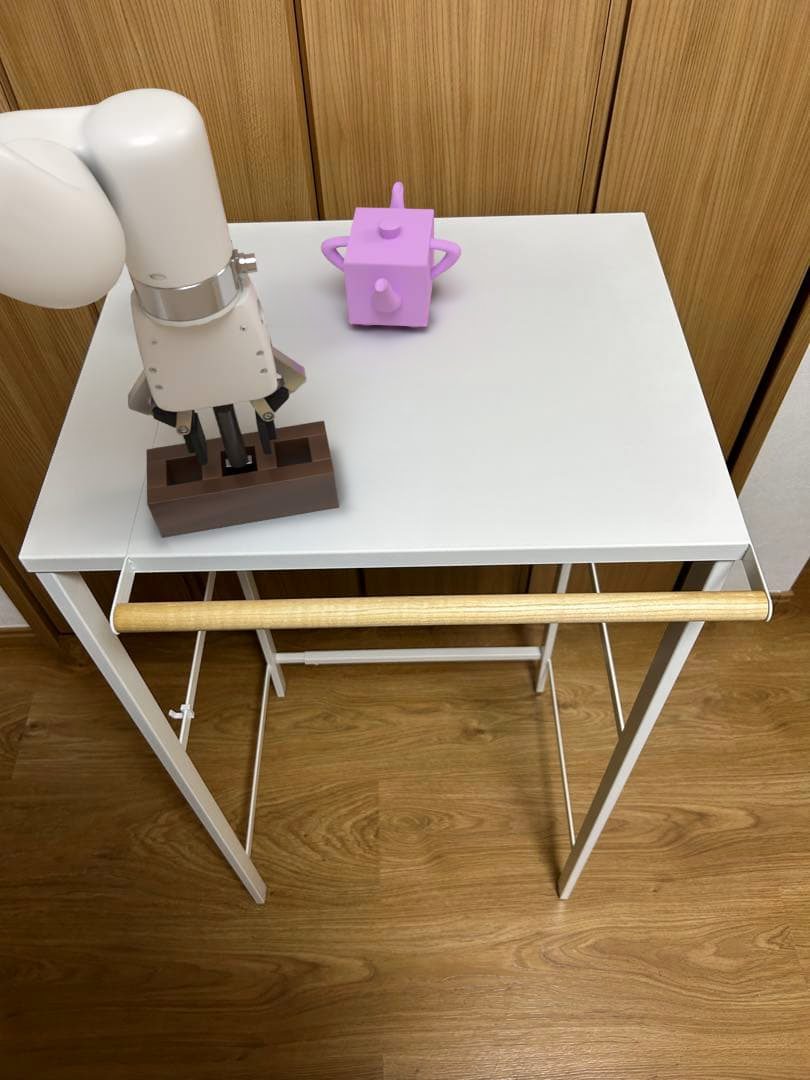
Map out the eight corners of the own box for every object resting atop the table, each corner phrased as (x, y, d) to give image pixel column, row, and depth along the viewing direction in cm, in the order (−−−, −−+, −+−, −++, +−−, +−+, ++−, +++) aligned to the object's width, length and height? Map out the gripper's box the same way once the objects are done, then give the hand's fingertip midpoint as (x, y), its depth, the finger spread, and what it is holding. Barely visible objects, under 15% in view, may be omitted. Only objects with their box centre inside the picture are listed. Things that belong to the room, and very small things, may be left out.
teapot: (479, 316, 95) (483, 231, 86) (383, 365, 91) (377, 281, 82) (402, 253, 103) (399, 170, 94) (310, 295, 98) (298, 212, 90)
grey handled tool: (261, 500, 80) (237, 410, 70) (236, 504, 80) (209, 415, 70) (260, 486, 81) (236, 396, 71) (235, 490, 81) (208, 400, 71)
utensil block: (339, 507, 79) (334, 472, 75) (161, 537, 78) (146, 504, 74) (329, 455, 83) (323, 420, 79) (160, 483, 82) (146, 449, 78)
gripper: (296, 232, 63) (323, 404, 78) (69, 264, 62) (139, 434, 77) (309, 292, 59) (334, 463, 74) (64, 329, 58) (140, 495, 72)
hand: (234, 447), depth 75 cm, fingers open, 5 cm apart
